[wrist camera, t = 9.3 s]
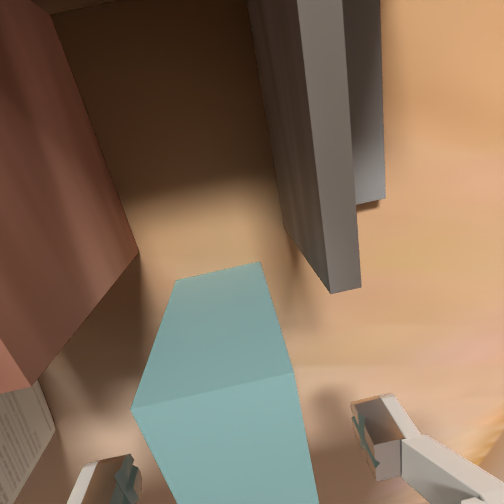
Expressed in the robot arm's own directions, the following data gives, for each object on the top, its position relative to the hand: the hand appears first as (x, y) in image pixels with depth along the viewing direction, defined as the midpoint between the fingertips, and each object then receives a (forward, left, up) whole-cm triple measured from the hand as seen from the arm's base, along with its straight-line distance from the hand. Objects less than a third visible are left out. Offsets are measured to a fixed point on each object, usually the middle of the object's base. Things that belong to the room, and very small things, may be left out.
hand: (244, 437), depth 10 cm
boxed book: (0, 0, -5) cm, 5 cm away
